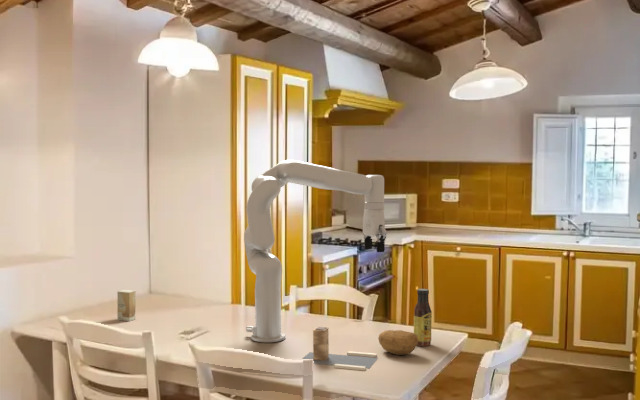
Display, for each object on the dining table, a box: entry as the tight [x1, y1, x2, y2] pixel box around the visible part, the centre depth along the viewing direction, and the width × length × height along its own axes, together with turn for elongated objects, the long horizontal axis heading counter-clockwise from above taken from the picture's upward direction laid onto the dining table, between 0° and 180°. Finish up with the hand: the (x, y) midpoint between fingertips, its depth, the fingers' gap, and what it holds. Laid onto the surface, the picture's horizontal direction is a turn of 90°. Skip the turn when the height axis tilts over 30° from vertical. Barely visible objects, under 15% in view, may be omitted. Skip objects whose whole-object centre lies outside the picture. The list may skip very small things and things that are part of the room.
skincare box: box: [117, 289, 136, 322], centre depth 292 cm, size 6×4×12 cm
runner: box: [301, 350, 379, 371], centre depth 232 cm, size 24×16×1 cm
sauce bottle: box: [413, 288, 433, 347], centre depth 250 cm, size 6×6×20 cm
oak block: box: [312, 326, 330, 361], centre depth 233 cm, size 4×4×10 cm
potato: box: [377, 329, 418, 356], centre depth 239 cm, size 10×14×8 cm
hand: (374, 250), depth 274 cm, fingers open, 9 cm apart
